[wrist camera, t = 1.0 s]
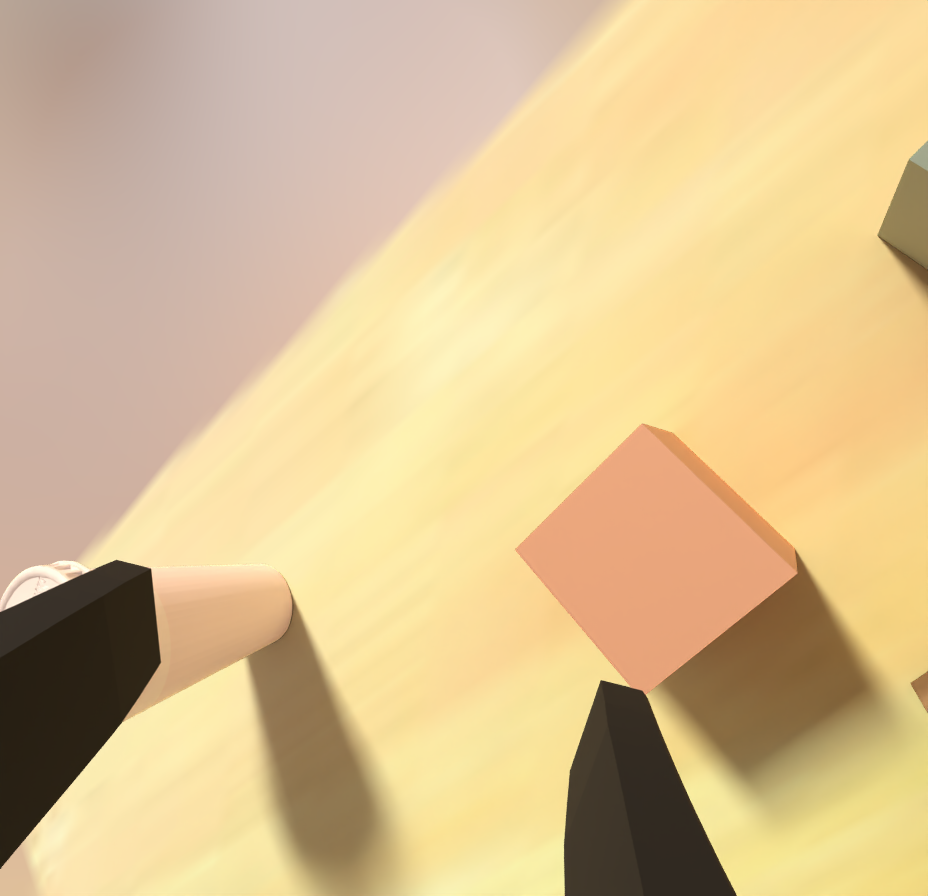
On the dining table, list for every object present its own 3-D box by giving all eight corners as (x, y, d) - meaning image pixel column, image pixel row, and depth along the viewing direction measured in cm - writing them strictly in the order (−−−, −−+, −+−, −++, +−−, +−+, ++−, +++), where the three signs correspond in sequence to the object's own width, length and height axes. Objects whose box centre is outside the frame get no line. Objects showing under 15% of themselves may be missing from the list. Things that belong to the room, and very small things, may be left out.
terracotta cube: (794, 547, 18) (797, 573, 14) (672, 647, 20) (640, 698, 16) (673, 432, 20) (642, 423, 16) (569, 532, 22) (515, 549, 17)
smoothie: (254, 699, 28) (-152, 877, 16) (197, 585, 31) (-202, 666, 18) (338, 624, 26) (-58, 765, 14) (270, 507, 28) (-128, 538, 16)
